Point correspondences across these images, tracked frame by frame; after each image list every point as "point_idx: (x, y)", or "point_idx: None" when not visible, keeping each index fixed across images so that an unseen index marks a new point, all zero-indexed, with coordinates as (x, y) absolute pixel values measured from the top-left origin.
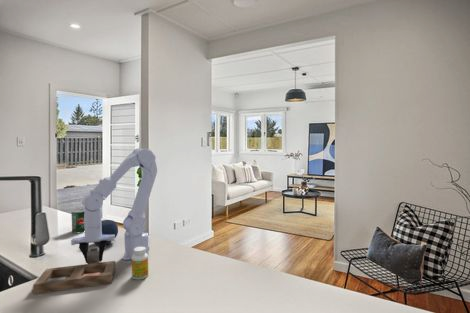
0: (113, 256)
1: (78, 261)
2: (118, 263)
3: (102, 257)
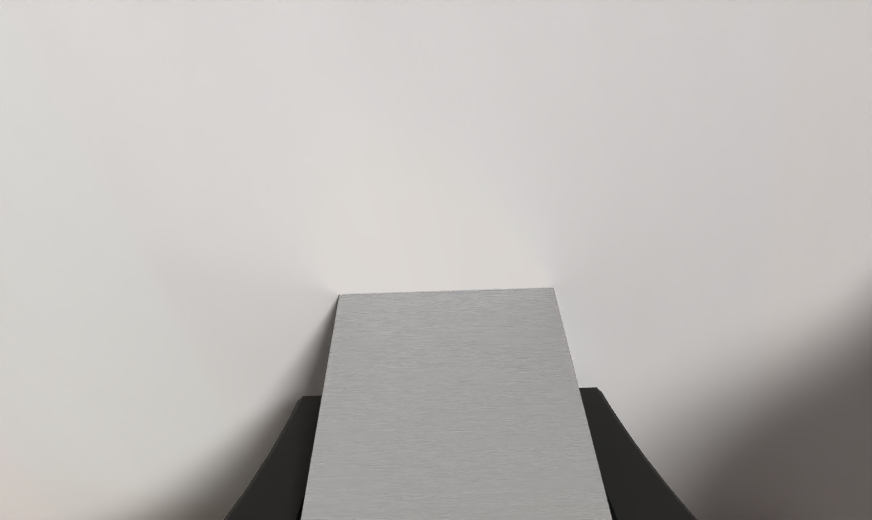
0: (819, 30)
1: (29, 119)
2: (861, 396)
3: (611, 419)
